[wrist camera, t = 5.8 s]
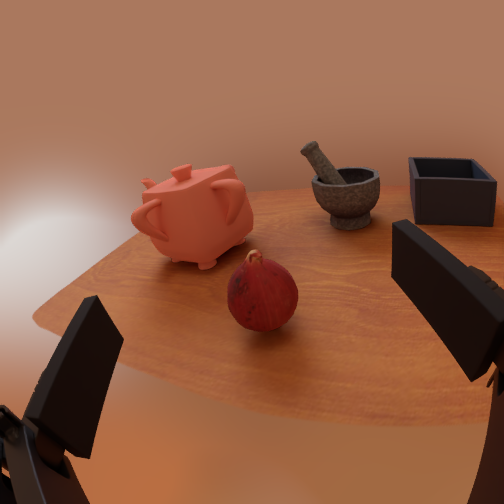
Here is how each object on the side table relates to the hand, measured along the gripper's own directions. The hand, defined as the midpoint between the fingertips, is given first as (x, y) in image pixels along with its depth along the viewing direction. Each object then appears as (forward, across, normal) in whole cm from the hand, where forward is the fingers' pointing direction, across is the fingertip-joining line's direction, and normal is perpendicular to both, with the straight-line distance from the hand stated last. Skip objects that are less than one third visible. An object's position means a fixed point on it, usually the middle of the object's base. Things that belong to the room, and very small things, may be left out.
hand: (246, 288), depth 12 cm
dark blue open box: (+23, +31, -11) cm, 41 cm away
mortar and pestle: (+27, +14, -12) cm, 33 cm away
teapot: (+30, -7, -12) cm, 33 cm away
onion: (+10, 0, -12) cm, 15 cm away
